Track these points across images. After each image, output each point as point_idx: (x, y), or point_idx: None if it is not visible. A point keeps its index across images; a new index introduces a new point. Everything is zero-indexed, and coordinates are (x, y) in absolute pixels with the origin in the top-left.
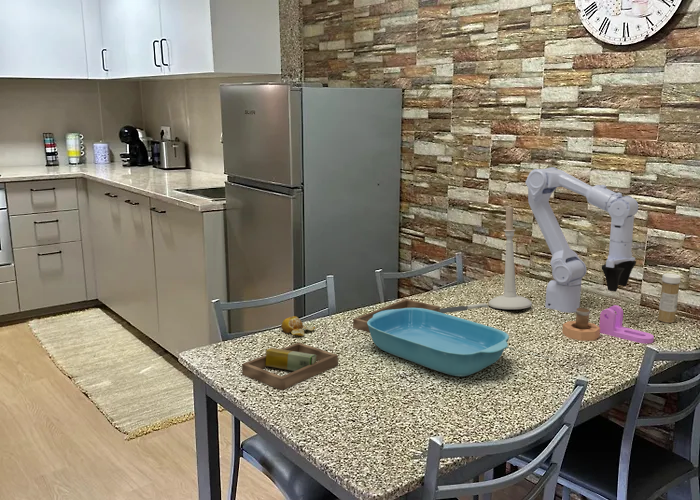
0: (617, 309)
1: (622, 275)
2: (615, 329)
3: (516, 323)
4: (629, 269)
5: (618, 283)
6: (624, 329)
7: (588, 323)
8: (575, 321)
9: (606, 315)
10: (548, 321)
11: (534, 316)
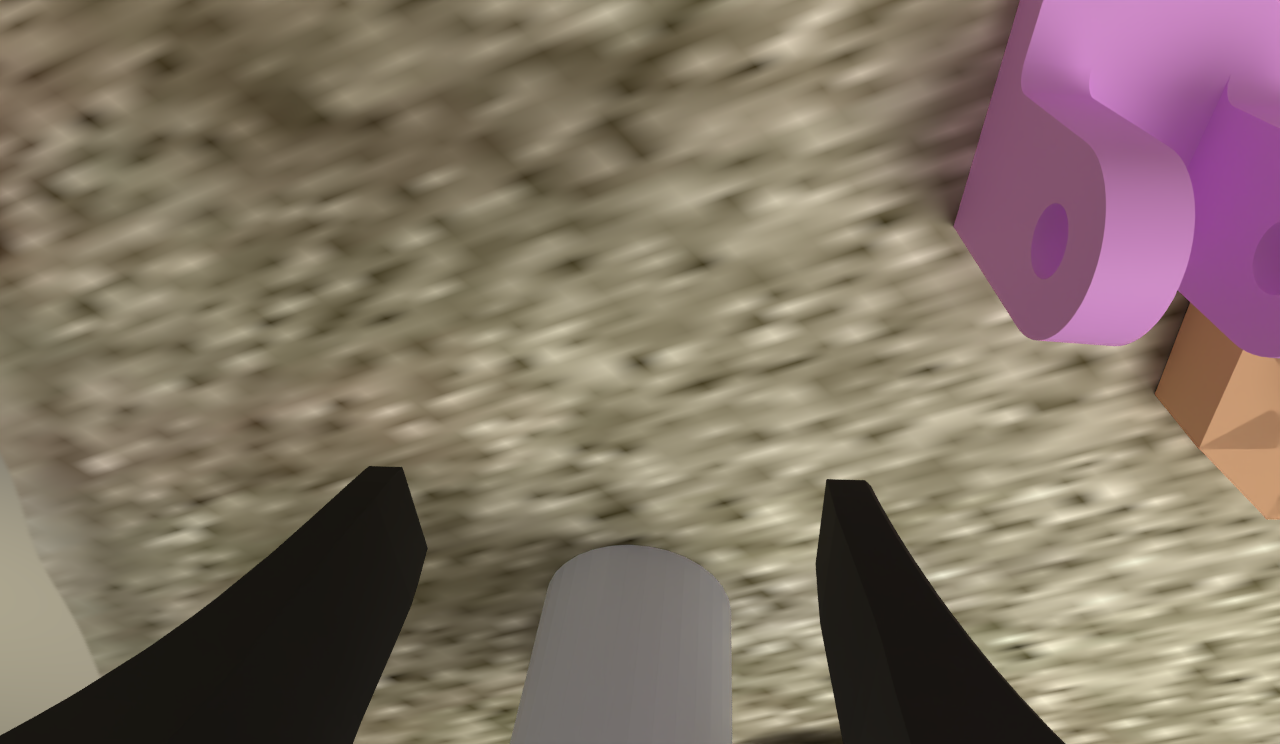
0: (1181, 230)
1: (336, 659)
2: (1180, 106)
3: (1210, 712)
4: (211, 726)
5: (858, 575)
6: (1133, 16)
7: (1269, 372)
8: (1248, 475)
9: (1270, 285)
10: (1045, 606)
11: None
